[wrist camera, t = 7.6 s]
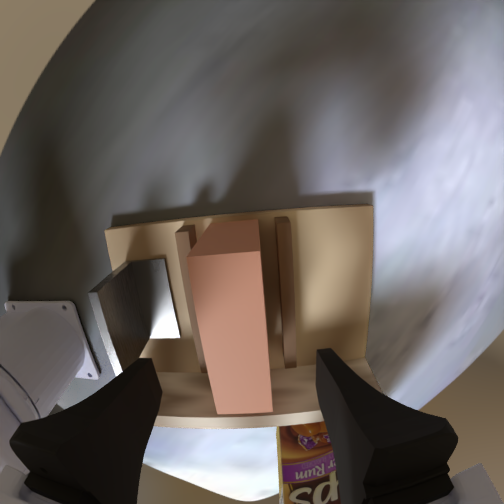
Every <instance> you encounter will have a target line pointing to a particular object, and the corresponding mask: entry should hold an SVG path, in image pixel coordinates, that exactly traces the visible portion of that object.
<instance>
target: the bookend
mask: <svg viewBox="0 0 504 504" xmlns="http://www.w3.org/2000/svg"><path fill="white" fill-rule="evenodd" d="M88 295H89V298H90V302H91V305H92V308H93V312H94V315H95V318H96V321H97V325H98V328H99V331H100V334H101V337H102V340H103V342H104V345H105V348H106V351H107V354H108V356H109V359H110V362H111V364H112V367H113V370H114V372H115V375H116V376H118V375H119V374H120V373H121V372H122V371H124V370H125V369H126V368H127V367H128V366H130V365H131V364H132V363H133V362H135V361H136V360H137V359H139V357H140V355H141V353H142V352H143V350H144V348H145V346H146V344H147V342H148V341H149V339H150V338H180V337H181V333H180V329H179V324H178V320H177V315H176V311H175V306H174V301H173V296H172V291H171V286H170V281H169V275H168V270H167V264H166V259H165V258H155V259H143V260H131V261H125V262H124V263H122V264H121V265H120V266H119V267H118V268H116V269H115V270H114V271H113V272H112V273H110V274H109V275H108V276H107V277H106V278H105V279H103V280H102V281H101V282H100V283H99V284H98V285H96V286H95V287H94V288H93V289H92V290H91V291H90V292H88Z"/></svg>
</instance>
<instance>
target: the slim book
mask: <svg viewBox="0 0 504 504" xmlns="http://www.w3.org/2000/svg"><path fill="white" fill-rule="evenodd" d="M186 259H187V265H188V271H189V277H190V283H191V289H192V295H193V301H194V306H195V312H196V317H197V322H198V327H199V333H200V338H201V343H202V347H203V352H204V357H205V362H206V366H207V371H208V376H209V380H210V384H211V389H212V393H213V397H214V402H215V406H216V410H217V414H245V413H264V412H273V406H272V390H271V375H270V360H269V345H268V332H267V320H266V307H265V295H264V283H263V271H262V259H261V247H260V236H259V224H258V219H254V220H243V221H232V222H221V223H211V224H209V226H208V227H207V229H206V230H205V231H204V233H203V234H202V236H201V237H200V238H199V240H198V241H197V243H196V244H195V245H194V247H193V248H192V250H191V251H190V252H189V254H188V255H187V257H186Z"/></svg>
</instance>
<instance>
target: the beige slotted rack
mask: <svg viewBox="0 0 504 504" xmlns="http://www.w3.org/2000/svg"><path fill="white" fill-rule="evenodd" d="M254 219H258V224H259V236H260V247H261V259H262V271H263V283H264V295H265V307H266V320H267V332H268V345H269V360H270V375H271V390H272V406H273V412H264V413H245V414H217V410H216V406H215V402H214V397H213V393H212V389H211V384H210V380H209V376H208V371H207V366H206V362H205V357H204V352H203V347H202V343H201V338H200V333H199V327H198V322H197V317H196V312H195V306H194V301H193V295H192V289H191V283H190V277H189V271H188V265H187V259H186V257H187V255H188V254H189V252H190V251H191V250H192V248H193V247H194V245H195V244H196V243H197V241H198V240H199V238H200V237H201V236H202V234H203V233H204V231H205V230H206V229H207V227H208V226H209V224H211V223H221V222H232V221H243V220H254ZM104 231H105V236H106V242H107V247H108V252H109V256H110V261H111V266H112V270H113V271H114V270H115V269H116V268H118V267H119V266H120V265H121V264H122V263H124V262H125V261H131V260H143V259H155V258H165V259H166V264H167V270H168V275H169V281H170V286H171V291H172V296H173V301H174V306H175V311H176V315H177V320H178V324H179V329H180V333H181V337H180V338H150V339H149V341H148V342H147V344H146V346H145V348H144V350H143V352H142V353H141V355H140V357H139V358H152V361H153V364H154V367H155V370H156V373H157V376H158V379H159V382H160V385H161V388H162V391H163V393H162V398H161V403H160V408H159V412H158V415H157V418H156V420H155V423H154V426H158V427H172V428H195V429H238V428H261V427H275V426H287V425H297V424H306V423H314V422H321V421H324V419H323V416H322V413H321V409H320V406H319V402H318V397H317V391H316V385H315V384H316V350H317V349H325V348H331V349H333V350H334V352H335V353H336V354H337V355H338V356H339V357H340V358H341V359H342V360H343V361H344V362H345V363H346V364H347V365H348V366H349V367H350V368H351V369H352V370H353V371H354V372H355V373H356V374H357V375H359V376H360V377H361V378H362V379H363V380H364V381H366V382H367V383H368V384H370V385H371V386H372V387H374V388H375V389H376V390H378V391H379V392H381V393H382V391H381V389H380V387H379V385H378V383H377V381H376V379H375V376H374V374H373V372H372V370H371V369H370V367H369V365H368V363H367V361H366V359H365V352H366V344H367V335H368V325H369V313H370V300H371V285H372V263H373V206H372V205H369V204H354V205H337V206H321V207H306V208H292V209H279V210H266V211H254V212H243V213H232V214H222V215H212V216H202V217H192V218H183V219H174V220H165V221H157V222H148V223H140V224H132V225H124V226H117V227H110V228H108V229H106V230H104Z"/></svg>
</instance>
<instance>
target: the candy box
mask: <svg viewBox="0 0 504 504" xmlns="http://www.w3.org/2000/svg"><path fill="white" fill-rule="evenodd" d="M276 439H277V454H278V474H279V494H280V504H341V500H340V492H339V484H338V478H337V471H336V465H335V459H334V454H333V449H332V445H331V441H330V438H329V435H328V432H327V429H326V425H325V422H324V421H321V422H314V423H306V424H297V425H287V426H277V431H276Z"/></svg>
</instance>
